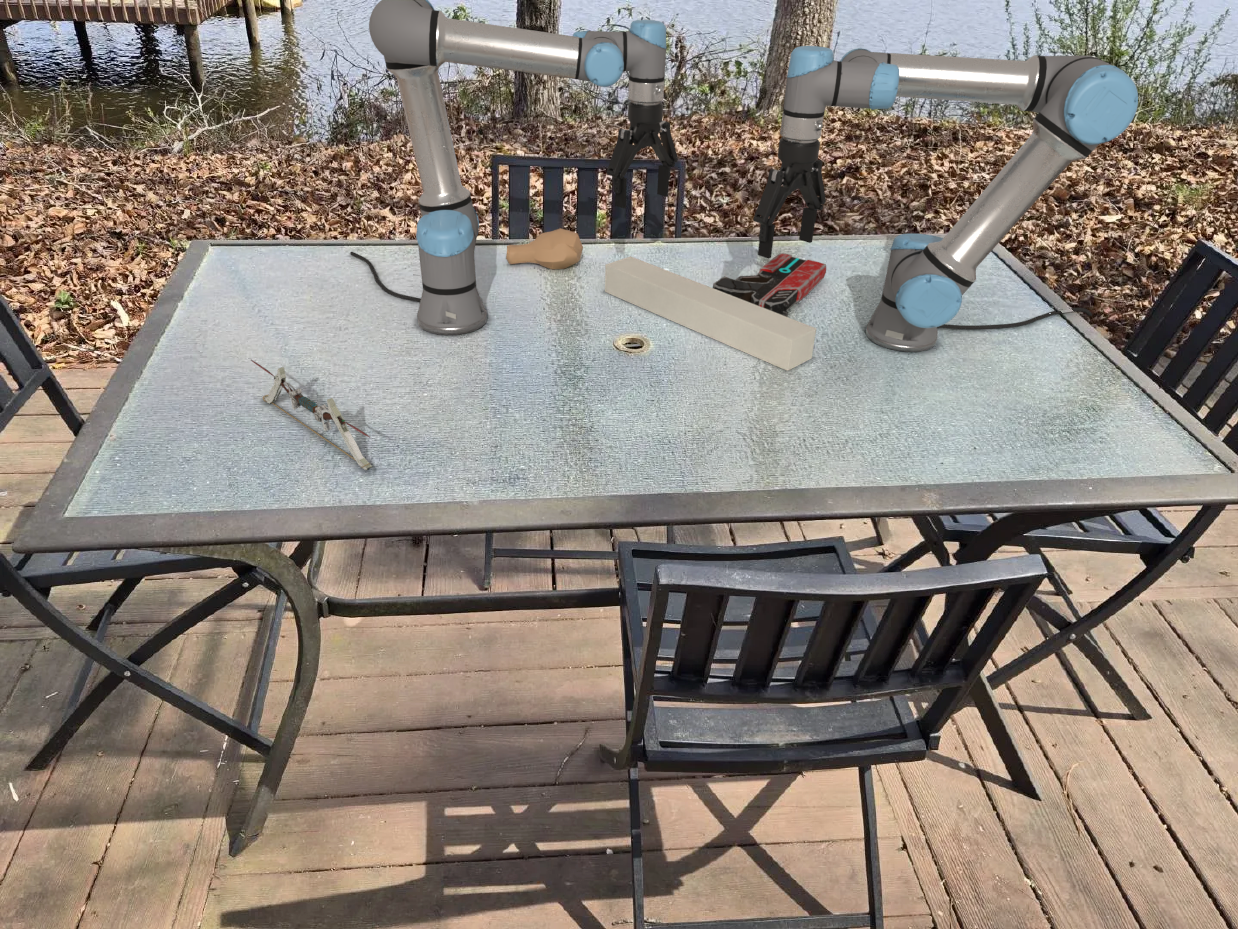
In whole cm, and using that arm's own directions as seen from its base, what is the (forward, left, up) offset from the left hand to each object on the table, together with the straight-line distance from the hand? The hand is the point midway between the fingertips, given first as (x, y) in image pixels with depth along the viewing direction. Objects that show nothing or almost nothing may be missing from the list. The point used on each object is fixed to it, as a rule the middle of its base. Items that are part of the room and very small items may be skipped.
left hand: (641, 200), depth 199 cm
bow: (+6, -88, -23) cm, 91 cm away
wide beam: (+20, 0, -23) cm, 31 cm away
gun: (+19, +27, -23) cm, 41 cm away
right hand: (+40, 0, 0) cm, 40 cm away
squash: (-30, -4, -23) cm, 38 cm away
